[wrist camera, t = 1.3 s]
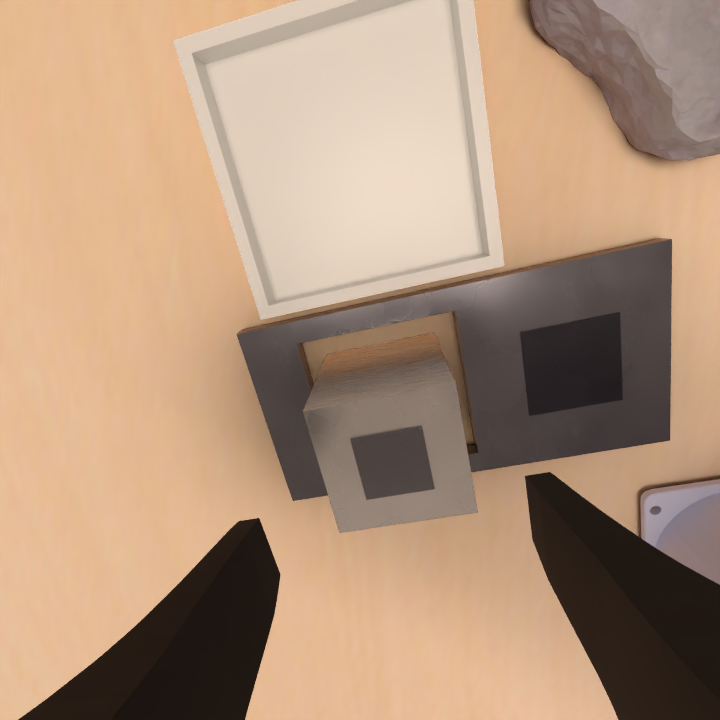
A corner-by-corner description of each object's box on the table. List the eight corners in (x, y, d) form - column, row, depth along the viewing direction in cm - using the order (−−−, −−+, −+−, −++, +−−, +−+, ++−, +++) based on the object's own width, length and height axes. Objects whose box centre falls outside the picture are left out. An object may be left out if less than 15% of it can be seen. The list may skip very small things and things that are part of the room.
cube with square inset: (450, 429, 20) (478, 514, 14) (351, 446, 20) (339, 534, 15) (433, 332, 18) (456, 383, 13) (327, 354, 19) (302, 412, 13)
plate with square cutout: (658, 431, 19) (670, 441, 18) (296, 491, 21) (292, 501, 21) (658, 238, 16) (673, 239, 16) (242, 329, 19) (236, 334, 18)
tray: (494, 262, 17) (504, 266, 16) (270, 312, 18) (260, 319, 17) (458, -27, 14) (467, -55, 13) (192, 57, 15) (172, 40, 14)
